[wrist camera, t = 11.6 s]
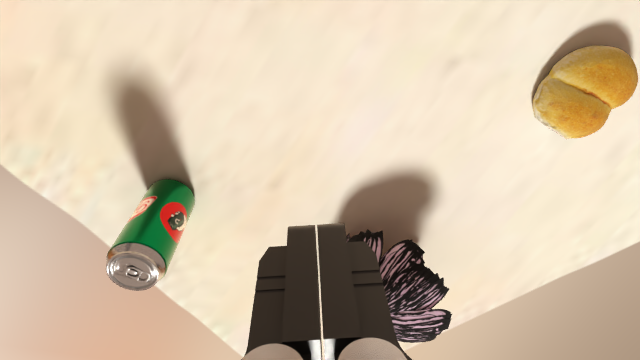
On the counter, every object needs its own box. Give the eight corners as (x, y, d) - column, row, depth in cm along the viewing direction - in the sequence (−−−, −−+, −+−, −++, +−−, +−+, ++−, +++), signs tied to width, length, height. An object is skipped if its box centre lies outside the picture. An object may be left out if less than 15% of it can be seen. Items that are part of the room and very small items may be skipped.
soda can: (159, 168, 42) (112, 241, 32) (203, 189, 43) (172, 265, 33) (142, 202, 44) (93, 280, 34) (185, 221, 45) (150, 301, 35)
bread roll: (639, 69, 38) (672, 81, 35) (567, 141, 42) (591, 158, 39) (584, 23, 36) (614, 31, 33) (513, 104, 40) (533, 118, 36)
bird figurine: (327, 262, 37) (475, 333, 36) (358, 184, 45) (479, 240, 44) (292, 325, 47) (407, 381, 46) (323, 251, 55) (421, 298, 54)
